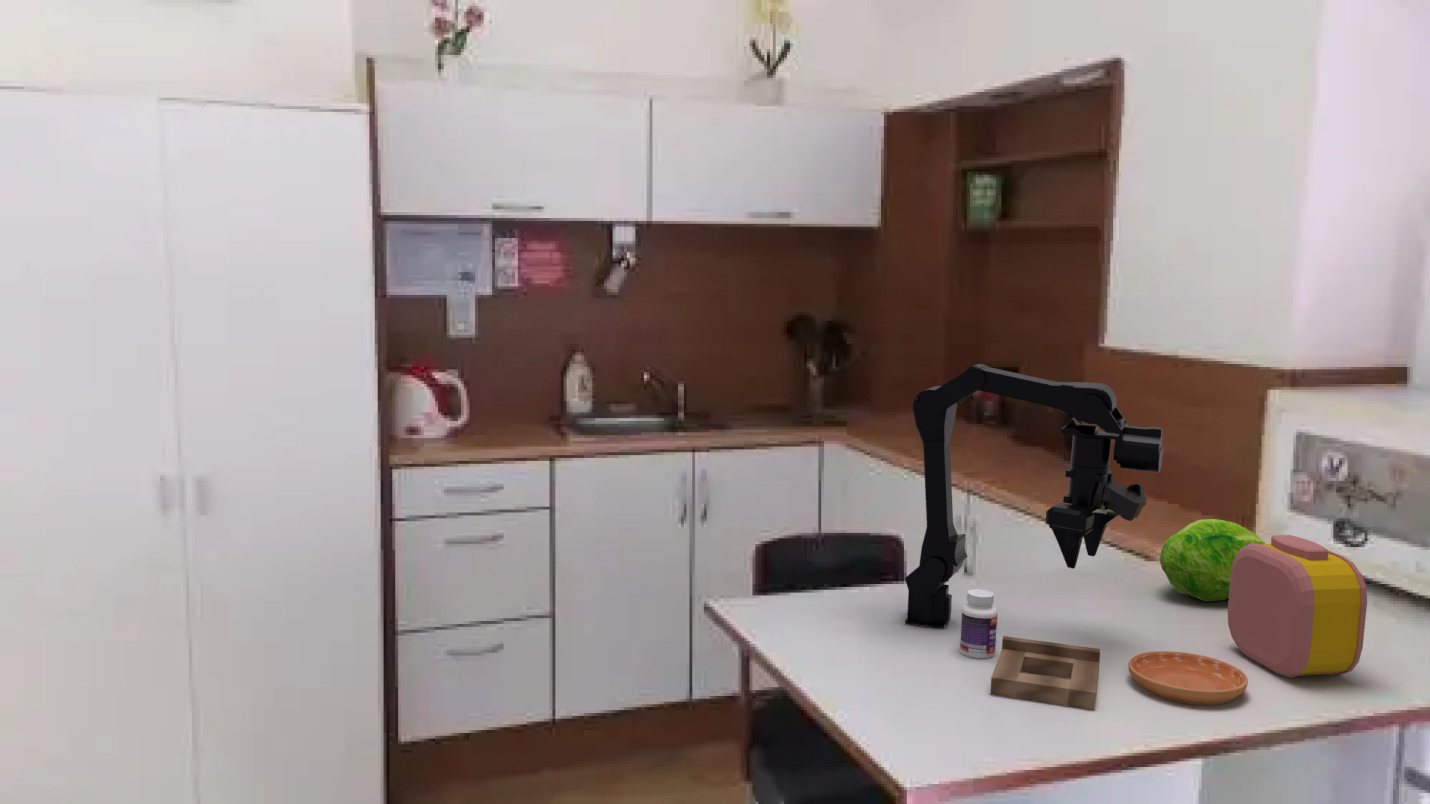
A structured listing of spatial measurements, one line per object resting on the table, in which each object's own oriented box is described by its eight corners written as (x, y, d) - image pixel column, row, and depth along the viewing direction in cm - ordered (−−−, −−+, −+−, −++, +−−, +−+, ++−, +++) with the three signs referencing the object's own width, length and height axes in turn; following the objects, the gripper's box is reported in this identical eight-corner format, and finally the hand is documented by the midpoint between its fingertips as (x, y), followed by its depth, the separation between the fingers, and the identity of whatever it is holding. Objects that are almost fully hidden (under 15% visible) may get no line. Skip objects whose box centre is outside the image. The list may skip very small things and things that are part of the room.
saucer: (1112, 667, 171) (1113, 648, 171) (1218, 670, 171) (1220, 651, 171) (1149, 710, 156) (1150, 689, 155) (1266, 713, 155) (1268, 692, 155)
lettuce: (1213, 571, 220) (1285, 604, 206) (1131, 586, 209) (1202, 622, 196) (1228, 500, 216) (1302, 530, 203) (1145, 512, 205) (1218, 544, 192)
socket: (990, 694, 159) (991, 667, 159) (1002, 661, 172) (1003, 636, 172) (1094, 710, 155) (1096, 682, 154) (1098, 674, 167) (1100, 649, 167)
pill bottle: (995, 661, 172) (999, 599, 171) (959, 657, 174) (962, 596, 172) (994, 648, 178) (997, 589, 176) (959, 645, 179) (962, 586, 177)
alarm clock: (1364, 686, 165) (1377, 558, 162) (1296, 690, 163) (1308, 560, 160) (1281, 642, 183) (1291, 526, 180) (1219, 645, 181) (1228, 528, 178)
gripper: (1123, 482, 163) (1113, 586, 165) (1160, 464, 178) (1151, 559, 180) (1048, 470, 170) (1040, 570, 172) (1090, 453, 185) (1082, 546, 187)
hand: (1081, 561), depth 178 cm, fingers open, 9 cm apart
